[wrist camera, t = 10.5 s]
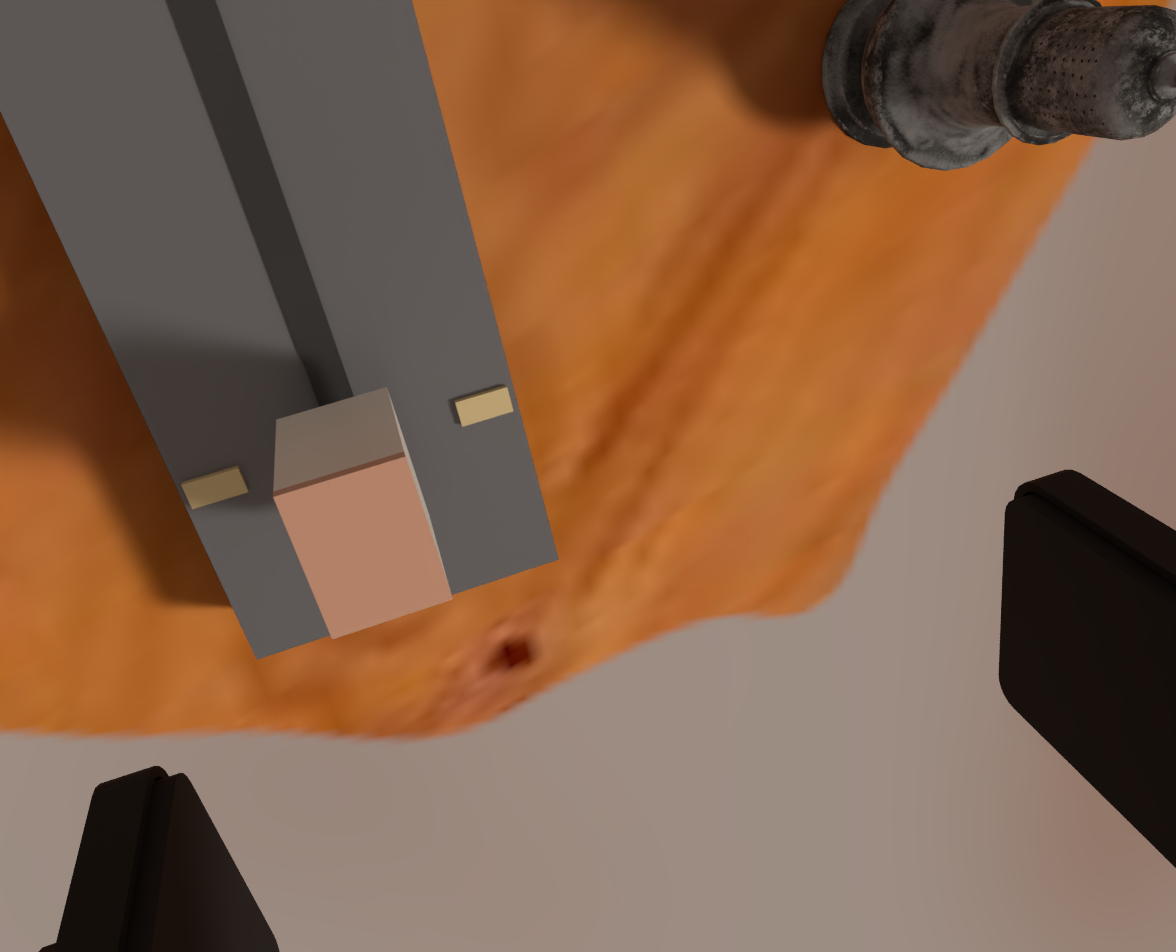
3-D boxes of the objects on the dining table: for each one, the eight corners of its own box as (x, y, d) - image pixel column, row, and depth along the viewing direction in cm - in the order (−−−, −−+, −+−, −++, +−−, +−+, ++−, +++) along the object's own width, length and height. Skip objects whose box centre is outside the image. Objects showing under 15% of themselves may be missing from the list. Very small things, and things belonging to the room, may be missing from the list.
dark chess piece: (802, 157, 31) (1057, 222, 21) (825, -47, 29) (1127, -90, 18) (958, 156, 33) (1269, 216, 22) (992, -38, 30) (1359, -73, 20)
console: (-177, -356, 21) (-250, -416, 18) (283, -430, 22) (282, -497, 19) (259, 609, 33) (256, 663, 30) (538, 518, 34) (560, 562, 31)
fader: (276, 400, 27) (273, 497, 21) (382, 369, 27) (405, 456, 22) (324, 521, 28) (332, 639, 23) (422, 490, 29) (452, 599, 23)
